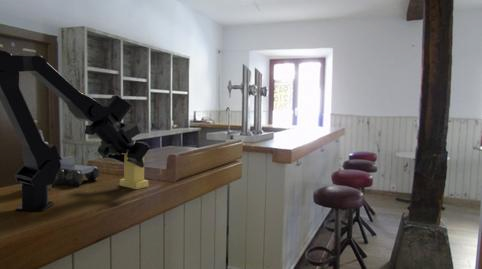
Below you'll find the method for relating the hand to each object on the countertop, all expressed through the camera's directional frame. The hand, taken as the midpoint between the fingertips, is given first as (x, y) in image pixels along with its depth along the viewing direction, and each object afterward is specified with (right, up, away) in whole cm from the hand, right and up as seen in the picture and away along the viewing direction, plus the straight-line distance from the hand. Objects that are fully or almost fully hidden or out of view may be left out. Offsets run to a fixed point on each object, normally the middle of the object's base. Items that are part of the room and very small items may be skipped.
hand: (137, 165), depth 115 cm
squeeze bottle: (-27, -7, -9) cm, 29 cm away
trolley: (-21, -6, +2) cm, 22 cm away
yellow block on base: (-1, -7, -1) cm, 7 cm away
